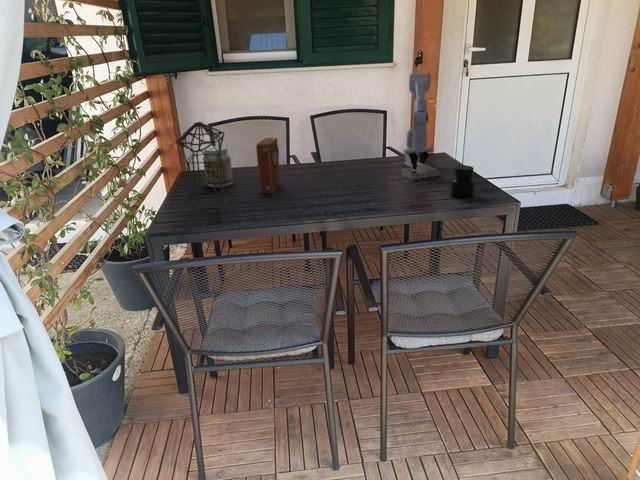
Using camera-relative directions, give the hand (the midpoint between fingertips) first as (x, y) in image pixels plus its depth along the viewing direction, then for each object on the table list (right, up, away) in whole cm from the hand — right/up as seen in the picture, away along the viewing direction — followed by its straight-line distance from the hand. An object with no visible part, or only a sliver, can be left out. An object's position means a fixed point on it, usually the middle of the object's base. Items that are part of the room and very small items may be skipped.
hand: (417, 168), depth 212 cm
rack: (+1, -3, +2) cm, 4 cm away
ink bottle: (+12, -16, -27) cm, 33 cm away
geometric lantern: (-88, -23, -36) cm, 98 cm away
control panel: (-68, -11, -9) cm, 69 cm away
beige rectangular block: (0, -3, 0) cm, 3 cm away
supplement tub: (-92, -8, 0) cm, 92 cm away
